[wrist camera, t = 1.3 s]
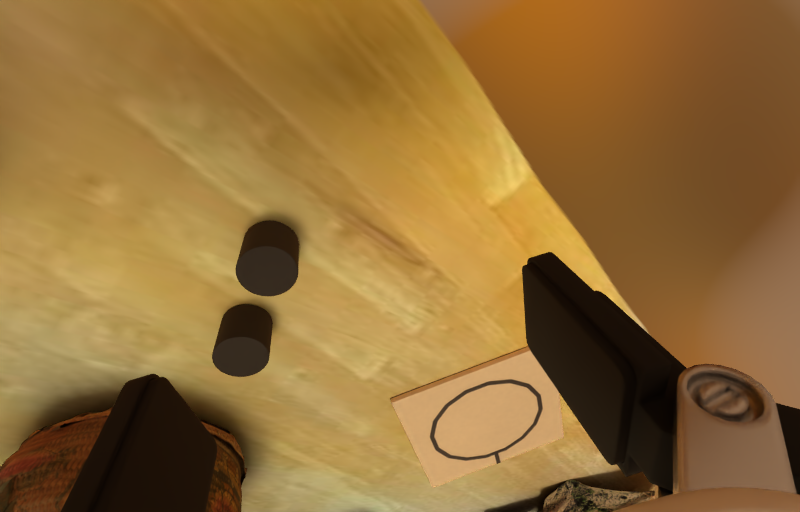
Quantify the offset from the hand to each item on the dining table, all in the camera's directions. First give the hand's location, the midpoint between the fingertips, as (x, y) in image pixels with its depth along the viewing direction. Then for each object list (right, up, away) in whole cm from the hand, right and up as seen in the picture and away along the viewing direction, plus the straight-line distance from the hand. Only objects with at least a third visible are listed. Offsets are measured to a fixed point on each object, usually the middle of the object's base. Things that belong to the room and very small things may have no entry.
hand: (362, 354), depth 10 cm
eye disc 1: (-12, -3, +23) cm, 26 cm away
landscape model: (+31, -36, +55) cm, 73 cm away
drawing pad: (+11, -16, +36) cm, 41 cm away
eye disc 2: (-9, +3, +20) cm, 22 cm away
